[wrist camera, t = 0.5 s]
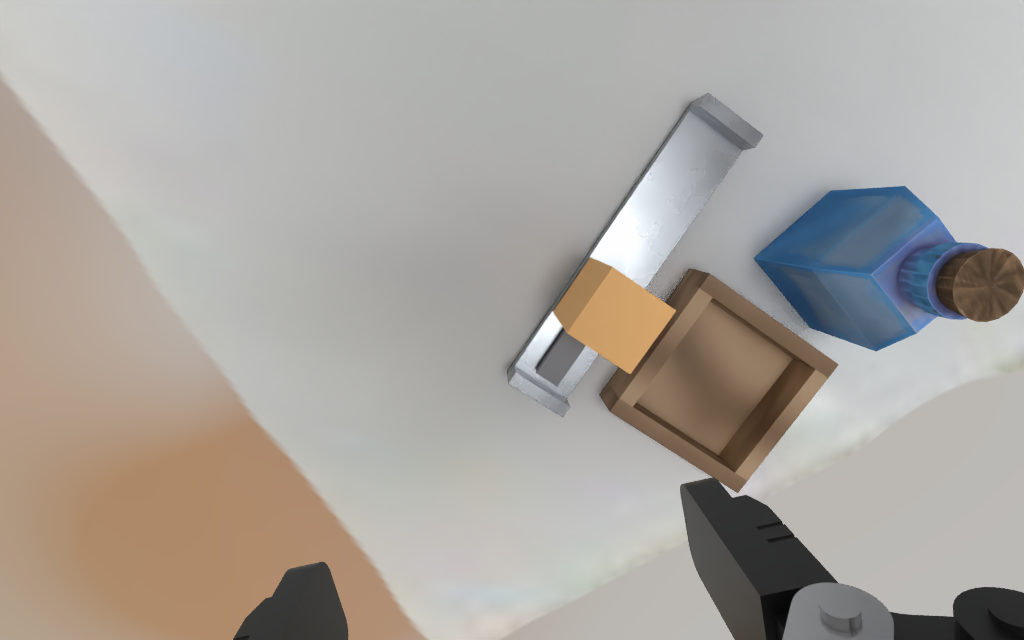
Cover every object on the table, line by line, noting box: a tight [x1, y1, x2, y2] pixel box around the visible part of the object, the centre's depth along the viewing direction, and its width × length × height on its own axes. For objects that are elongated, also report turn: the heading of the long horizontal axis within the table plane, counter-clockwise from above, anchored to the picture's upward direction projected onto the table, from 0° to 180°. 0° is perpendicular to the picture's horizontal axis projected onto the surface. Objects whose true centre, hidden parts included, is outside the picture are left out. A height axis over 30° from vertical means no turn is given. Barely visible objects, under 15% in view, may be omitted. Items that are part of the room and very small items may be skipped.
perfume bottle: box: [754, 186, 1024, 351], centre depth 29 cm, size 6×6×12 cm
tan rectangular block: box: [535, 257, 676, 386], centre depth 31 cm, size 8×4×6 cm, turn 146°
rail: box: [507, 93, 763, 417], centre depth 33 cm, size 20×4×2 cm, turn 146°
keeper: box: [600, 269, 838, 493], centre depth 34 cm, size 10×10×3 cm
